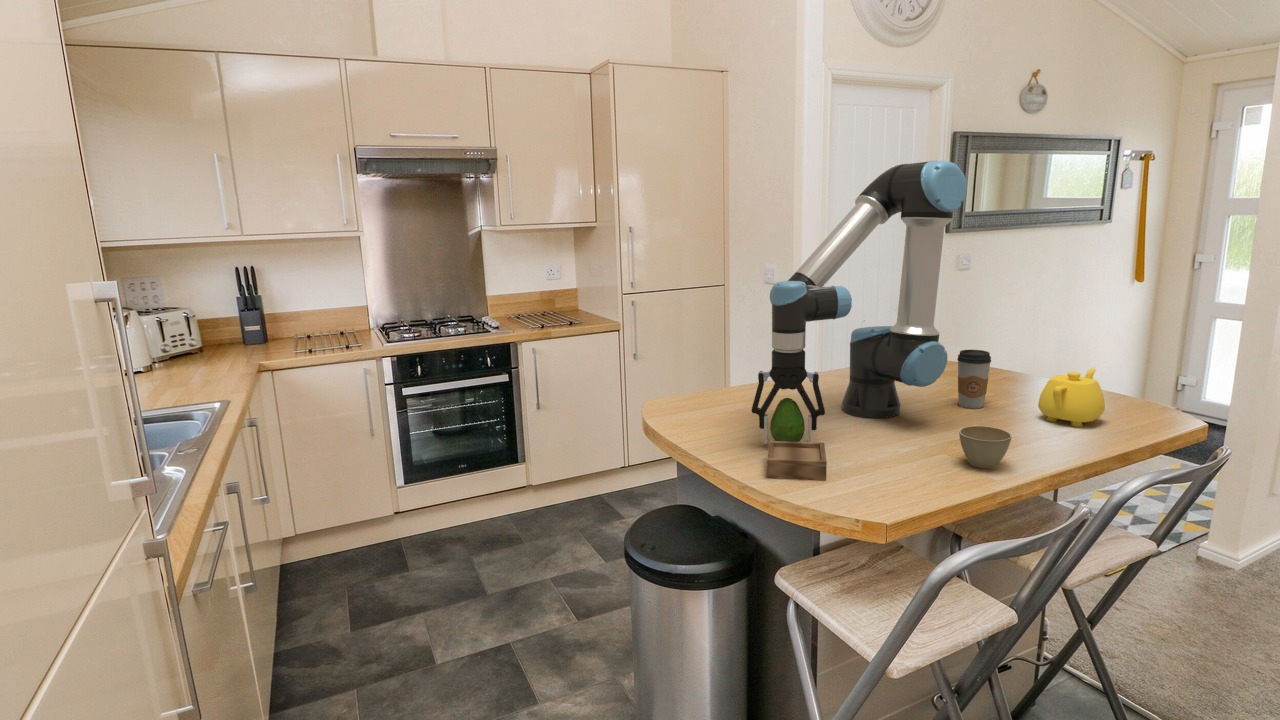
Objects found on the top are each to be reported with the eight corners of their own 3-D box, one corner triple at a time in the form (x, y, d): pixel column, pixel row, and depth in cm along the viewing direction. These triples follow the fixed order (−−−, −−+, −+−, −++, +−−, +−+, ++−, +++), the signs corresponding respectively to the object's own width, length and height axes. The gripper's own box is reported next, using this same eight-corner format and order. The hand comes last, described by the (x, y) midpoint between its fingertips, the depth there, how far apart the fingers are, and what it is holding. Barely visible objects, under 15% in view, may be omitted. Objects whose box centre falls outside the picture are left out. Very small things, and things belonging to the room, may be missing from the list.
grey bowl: (948, 458, 154) (950, 427, 152) (991, 455, 155) (993, 424, 153) (973, 474, 144) (975, 441, 142) (1019, 471, 145) (1022, 438, 143)
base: (823, 459, 155) (824, 442, 155) (826, 480, 144) (826, 462, 143) (769, 457, 158) (769, 440, 157) (767, 477, 146) (767, 459, 146)
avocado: (783, 454, 160) (783, 404, 157) (763, 444, 167) (764, 396, 164) (811, 448, 163) (812, 399, 160) (791, 439, 170) (792, 391, 167)
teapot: (1117, 418, 177) (1123, 370, 174) (1081, 434, 165) (1086, 384, 163) (1061, 407, 187) (1066, 362, 185) (1023, 421, 176) (1027, 374, 174)
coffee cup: (954, 408, 189) (958, 354, 186) (953, 400, 197) (957, 348, 194) (989, 411, 186) (993, 356, 183) (986, 402, 194) (990, 349, 190)
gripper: (837, 346, 161) (835, 438, 166) (741, 345, 166) (741, 435, 170) (839, 353, 154) (836, 449, 159) (738, 352, 158) (739, 445, 163)
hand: (787, 442), depth 164 cm, fingers open, 9 cm apart
